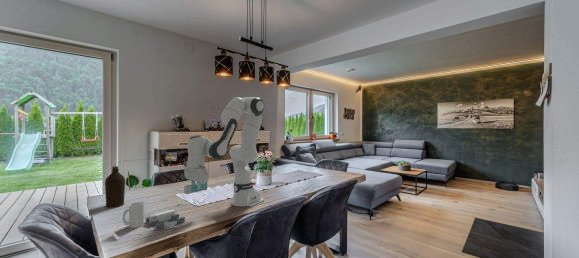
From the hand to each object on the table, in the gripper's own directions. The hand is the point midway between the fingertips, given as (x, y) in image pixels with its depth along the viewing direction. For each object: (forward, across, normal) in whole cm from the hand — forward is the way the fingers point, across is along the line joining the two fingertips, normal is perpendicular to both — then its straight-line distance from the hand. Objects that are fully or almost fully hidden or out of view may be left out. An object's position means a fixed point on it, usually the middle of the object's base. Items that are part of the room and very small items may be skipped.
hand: (196, 188), depth 138 cm
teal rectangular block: (+2, 0, 0) cm, 2 cm away
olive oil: (+17, +57, +24) cm, 64 cm away
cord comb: (+17, +4, +15) cm, 23 cm away
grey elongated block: (+15, +7, +15) cm, 23 cm away
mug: (+17, +10, +28) cm, 34 cm away
